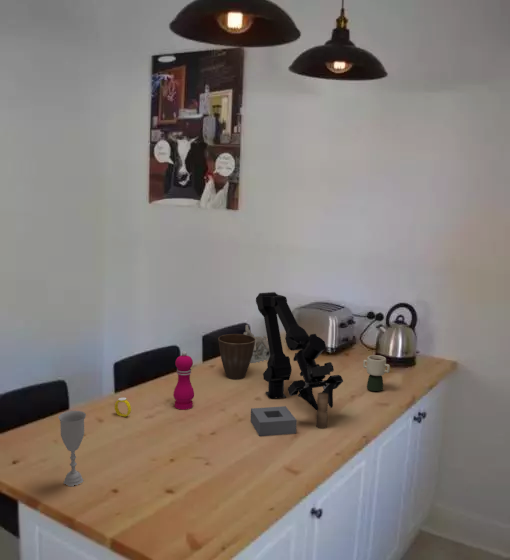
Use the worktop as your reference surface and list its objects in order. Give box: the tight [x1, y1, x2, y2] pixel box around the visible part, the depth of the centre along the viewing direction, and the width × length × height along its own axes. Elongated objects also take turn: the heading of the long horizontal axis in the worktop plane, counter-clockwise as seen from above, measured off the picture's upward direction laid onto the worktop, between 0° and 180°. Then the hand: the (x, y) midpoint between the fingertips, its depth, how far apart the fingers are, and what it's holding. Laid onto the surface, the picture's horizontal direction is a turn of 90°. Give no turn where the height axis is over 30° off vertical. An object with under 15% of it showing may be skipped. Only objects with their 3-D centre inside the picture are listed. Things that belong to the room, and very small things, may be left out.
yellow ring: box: [114, 397, 132, 418], centre depth 203 cm, size 6×3×6 cm, turn 62°
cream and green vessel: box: [362, 354, 391, 392], centre depth 235 cm, size 11×7×13 cm, turn 56°
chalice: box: [58, 410, 87, 487], centre depth 157 cm, size 7×7×18 cm
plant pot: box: [217, 333, 255, 380], centre depth 246 cm, size 15×15×16 cm
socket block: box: [250, 405, 298, 437], centre depth 197 cm, size 12×12×4 cm
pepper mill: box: [172, 350, 195, 411], centre depth 211 cm, size 7×7×20 cm
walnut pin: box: [315, 392, 329, 429], centre depth 199 cm, size 4×4×11 cm
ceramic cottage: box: [243, 324, 270, 364], centre depth 273 cm, size 16×16×15 cm
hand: (324, 408), depth 197 cm, fingers open, 5 cm apart
